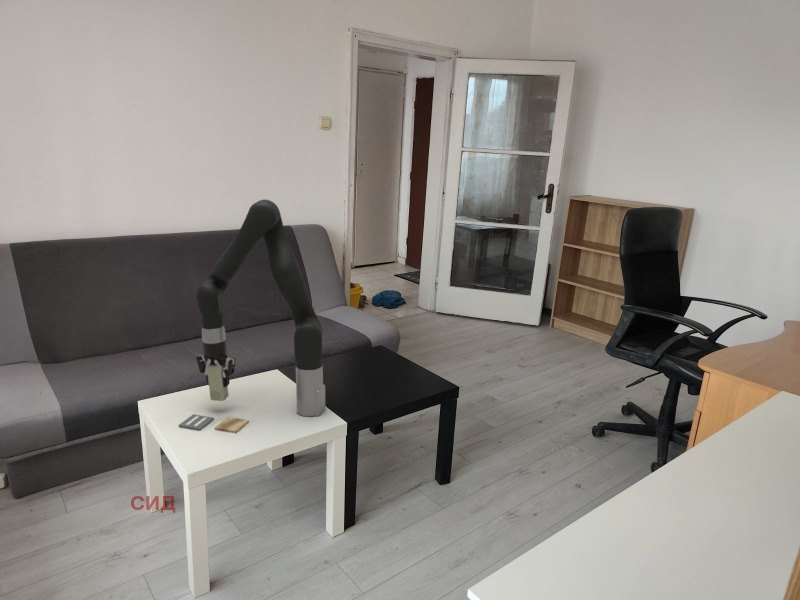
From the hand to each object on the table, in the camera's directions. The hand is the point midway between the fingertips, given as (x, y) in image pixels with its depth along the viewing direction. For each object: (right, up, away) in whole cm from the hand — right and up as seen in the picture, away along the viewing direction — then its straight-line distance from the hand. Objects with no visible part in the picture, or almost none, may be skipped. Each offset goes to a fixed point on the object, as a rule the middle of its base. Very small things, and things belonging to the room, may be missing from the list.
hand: (218, 385), depth 193 cm
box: (0, -5, +1) cm, 5 cm away
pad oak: (+7, -12, -7) cm, 16 cm away
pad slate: (-5, -12, -6) cm, 14 cm away
